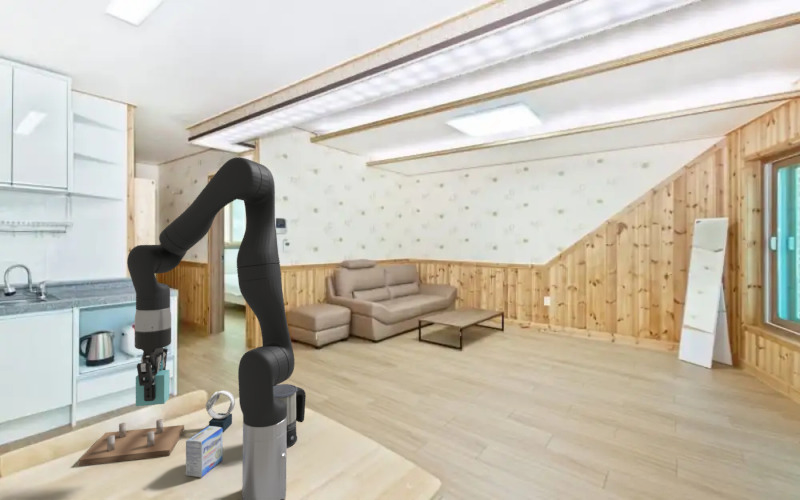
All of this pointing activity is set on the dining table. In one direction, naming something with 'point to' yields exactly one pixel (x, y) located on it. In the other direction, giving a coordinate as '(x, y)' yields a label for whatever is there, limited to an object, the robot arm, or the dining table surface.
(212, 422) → the silver ring on block
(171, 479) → the dining table surface
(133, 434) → the stub board
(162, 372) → the block
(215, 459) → the medicine box
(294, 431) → the milk frother
